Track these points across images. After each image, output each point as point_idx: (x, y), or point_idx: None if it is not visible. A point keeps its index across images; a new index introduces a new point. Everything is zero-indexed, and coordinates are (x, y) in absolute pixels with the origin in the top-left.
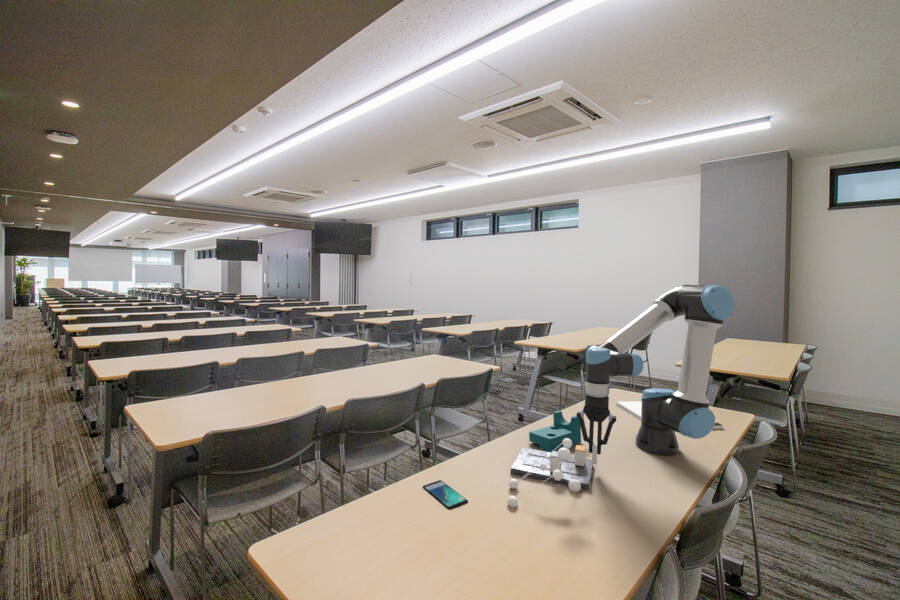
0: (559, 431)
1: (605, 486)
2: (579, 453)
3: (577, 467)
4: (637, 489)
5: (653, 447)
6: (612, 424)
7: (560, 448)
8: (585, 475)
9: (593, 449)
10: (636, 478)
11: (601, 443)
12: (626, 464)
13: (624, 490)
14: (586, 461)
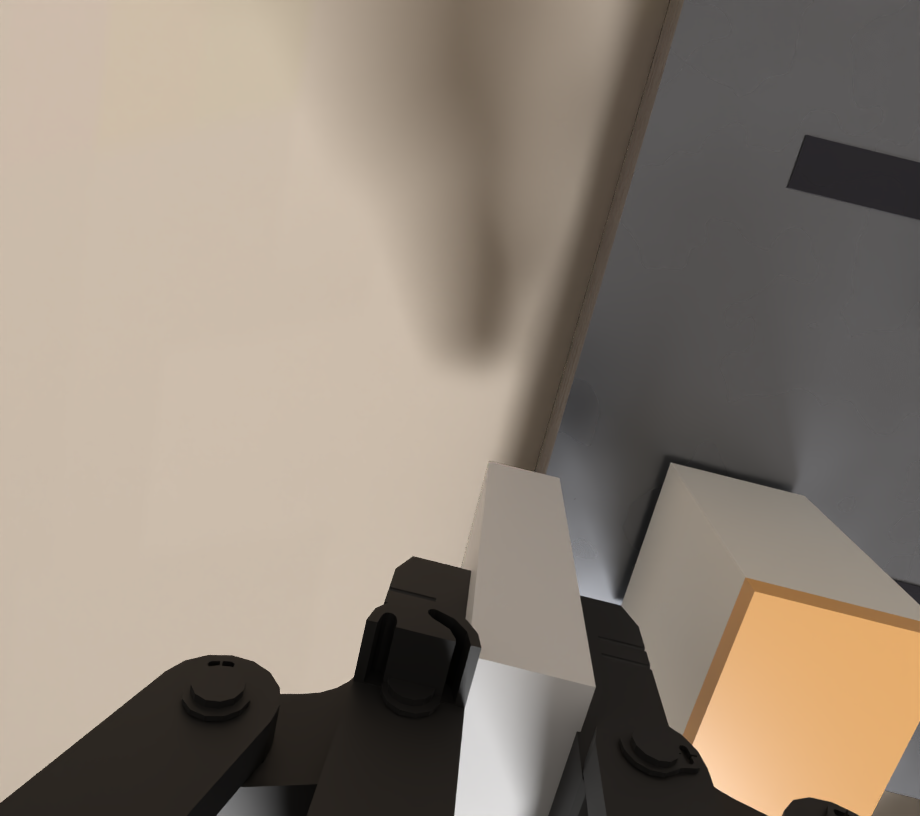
0: None
1: (430, 106)
2: (826, 577)
3: (770, 439)
4: (30, 117)
5: None
6: None
7: None
8: (712, 185)
9: (556, 610)
10: (14, 412)
11: (330, 722)
12: (90, 727)
13: (195, 46)
14: None
